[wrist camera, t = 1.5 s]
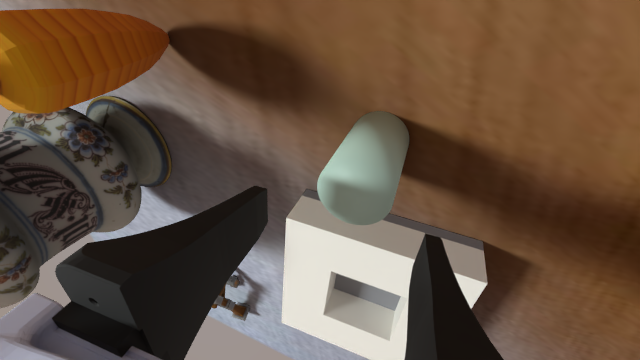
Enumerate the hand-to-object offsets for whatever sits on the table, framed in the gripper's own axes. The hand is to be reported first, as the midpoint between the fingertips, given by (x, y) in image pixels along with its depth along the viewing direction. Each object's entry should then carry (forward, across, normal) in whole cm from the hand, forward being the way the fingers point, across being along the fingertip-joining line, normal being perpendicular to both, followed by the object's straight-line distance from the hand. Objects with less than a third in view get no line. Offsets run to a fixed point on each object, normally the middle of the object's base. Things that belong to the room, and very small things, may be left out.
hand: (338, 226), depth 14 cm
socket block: (+10, -2, +13) cm, 16 cm away
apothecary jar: (+10, +24, +7) cm, 27 cm away
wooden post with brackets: (+10, +13, +24) cm, 29 cm away
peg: (+10, 0, 0) cm, 10 cm away
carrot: (+10, +17, -4) cm, 20 cm away
